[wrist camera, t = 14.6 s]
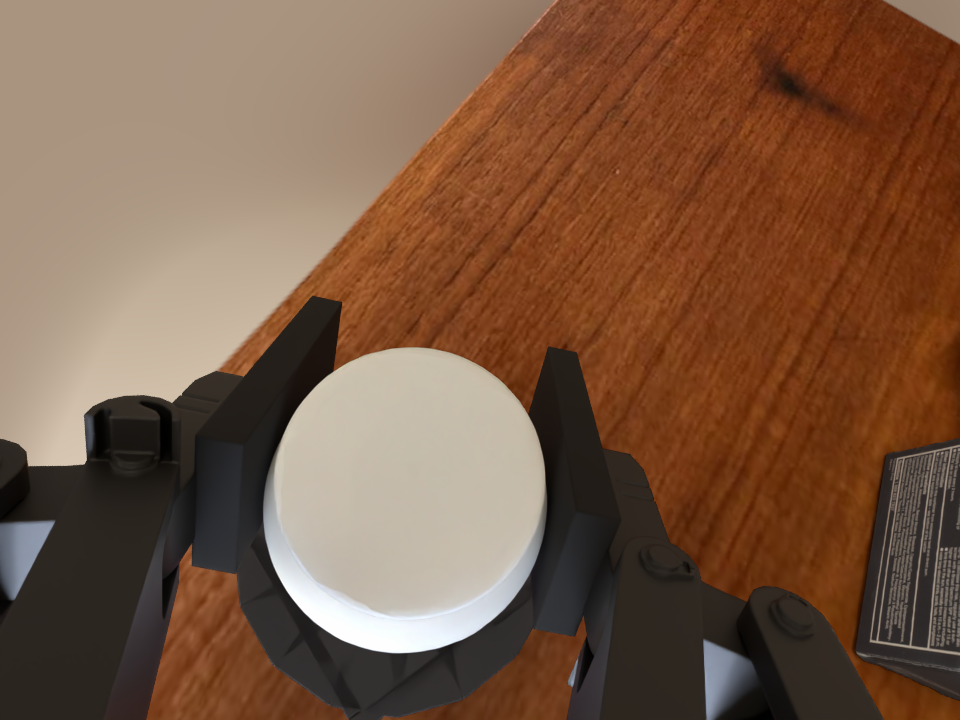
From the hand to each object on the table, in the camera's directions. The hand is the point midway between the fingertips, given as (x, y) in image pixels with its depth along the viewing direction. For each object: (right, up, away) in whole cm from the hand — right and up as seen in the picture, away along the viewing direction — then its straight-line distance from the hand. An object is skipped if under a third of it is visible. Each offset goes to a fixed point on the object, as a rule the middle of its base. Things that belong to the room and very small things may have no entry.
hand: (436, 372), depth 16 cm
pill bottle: (-1, -5, +2) cm, 5 cm away
